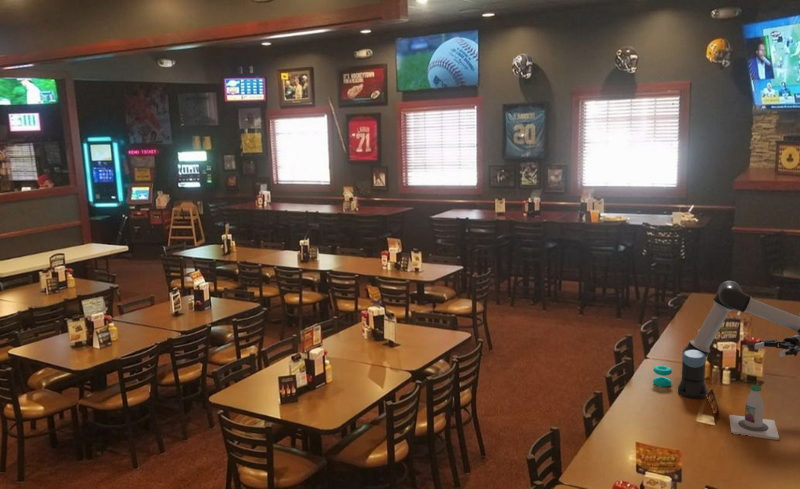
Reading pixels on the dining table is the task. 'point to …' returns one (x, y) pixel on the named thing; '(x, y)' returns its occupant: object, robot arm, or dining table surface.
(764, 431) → the board
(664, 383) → the donuts
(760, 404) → the milk bottle
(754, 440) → the dining table surface
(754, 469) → the dining table surface
